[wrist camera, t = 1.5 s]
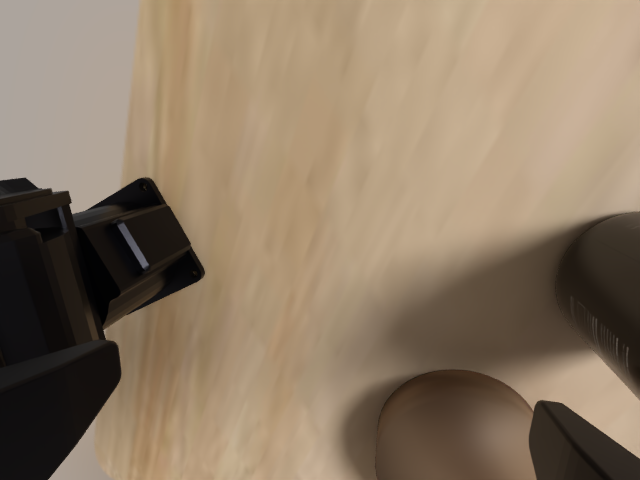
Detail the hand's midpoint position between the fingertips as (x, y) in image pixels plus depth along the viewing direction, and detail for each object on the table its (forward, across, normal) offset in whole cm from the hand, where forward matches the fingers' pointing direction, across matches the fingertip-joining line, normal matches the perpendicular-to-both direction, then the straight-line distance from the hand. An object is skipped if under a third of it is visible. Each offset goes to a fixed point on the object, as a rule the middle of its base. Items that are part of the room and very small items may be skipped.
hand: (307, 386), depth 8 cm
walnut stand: (+13, -6, +12) cm, 19 cm away
